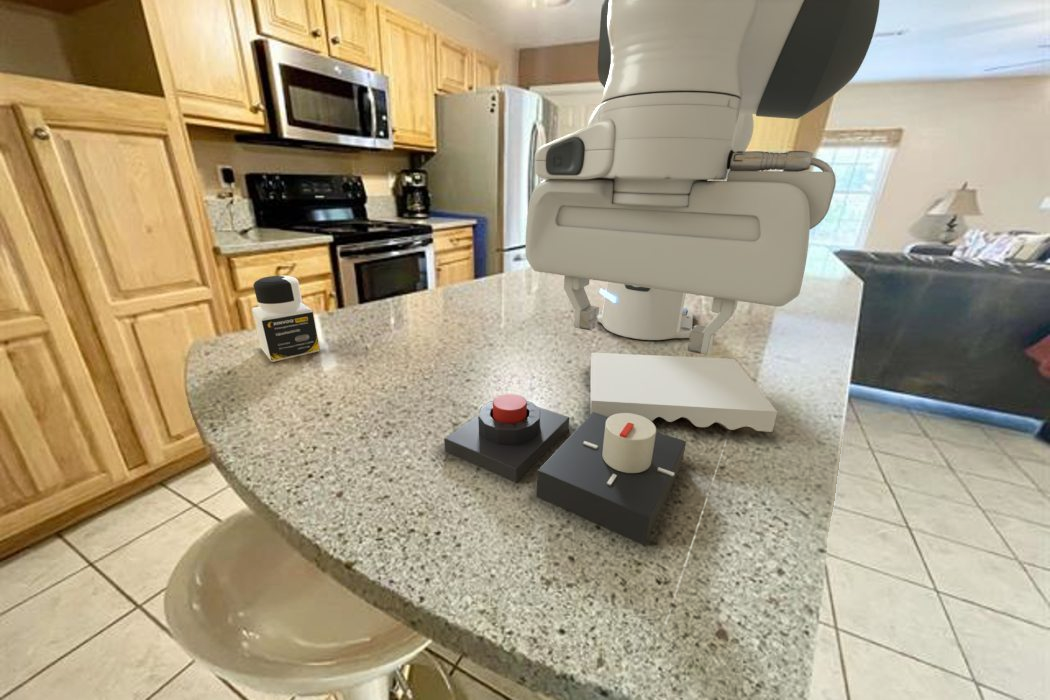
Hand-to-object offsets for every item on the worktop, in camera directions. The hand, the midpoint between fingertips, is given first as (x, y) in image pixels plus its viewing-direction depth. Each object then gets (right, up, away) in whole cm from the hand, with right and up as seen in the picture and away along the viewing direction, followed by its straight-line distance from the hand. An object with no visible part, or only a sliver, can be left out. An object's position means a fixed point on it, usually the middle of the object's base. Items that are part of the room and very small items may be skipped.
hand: (638, 338), depth 34 cm
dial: (0, -11, +4) cm, 12 cm away
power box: (-11, -11, +12) cm, 19 cm away
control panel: (-1, -13, +6) cm, 15 cm away
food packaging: (+9, -8, +21) cm, 24 cm away
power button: (-11, -8, +11) cm, 17 cm away
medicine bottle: (-48, -1, +34) cm, 59 cm away
